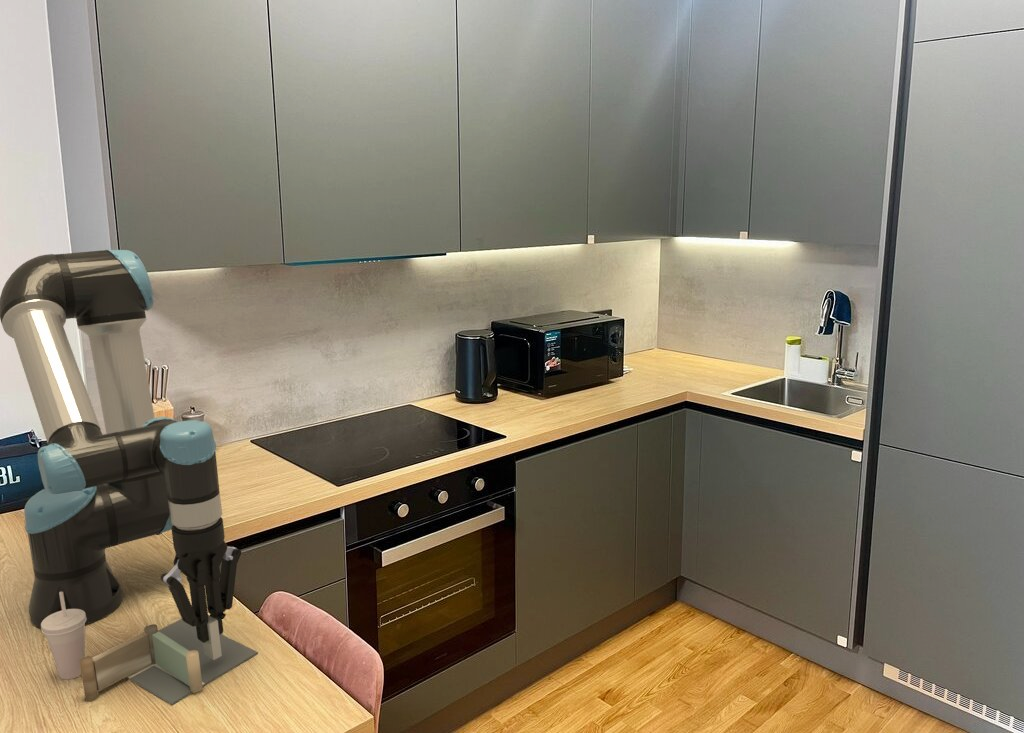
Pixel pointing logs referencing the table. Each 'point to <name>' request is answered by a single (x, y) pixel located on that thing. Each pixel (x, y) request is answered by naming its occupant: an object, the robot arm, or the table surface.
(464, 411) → the table surface
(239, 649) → the card
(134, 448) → the robot arm
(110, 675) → the base
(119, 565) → the table surface
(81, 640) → the smoothie
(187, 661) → the gate panel
